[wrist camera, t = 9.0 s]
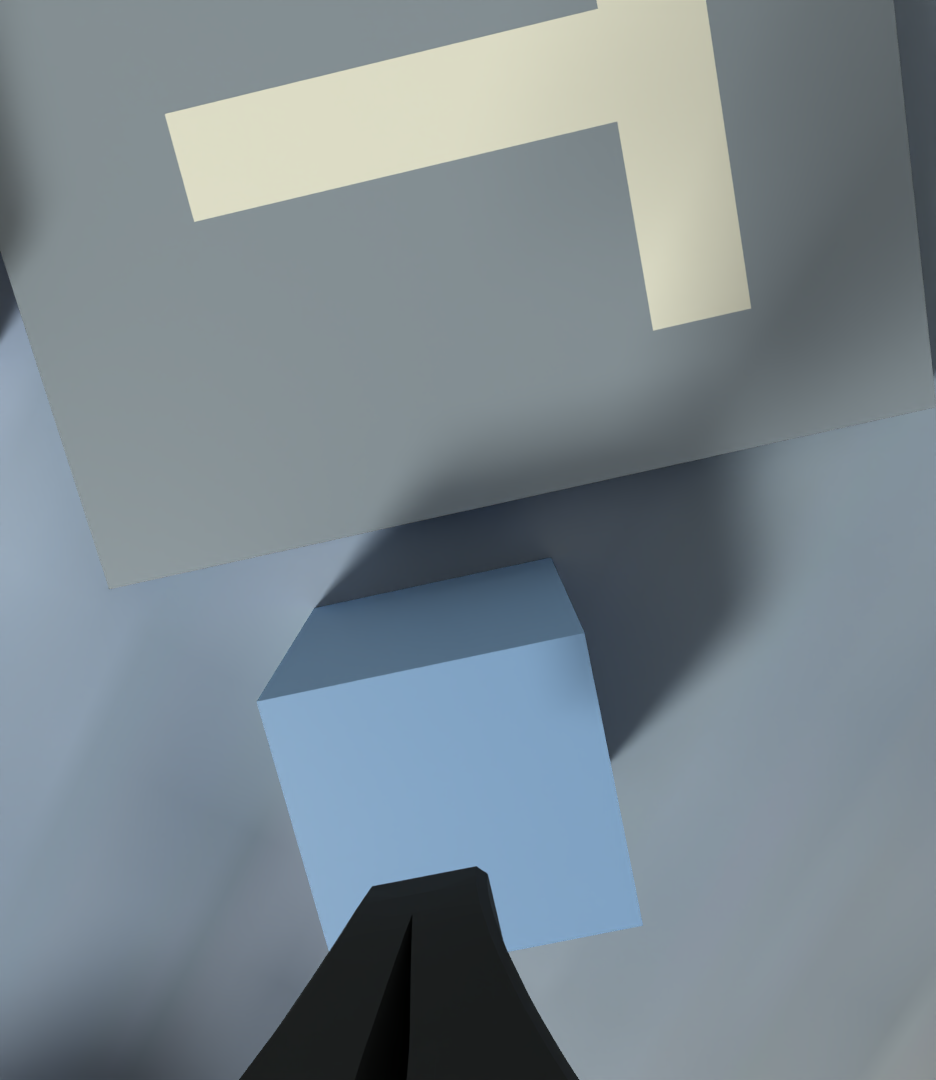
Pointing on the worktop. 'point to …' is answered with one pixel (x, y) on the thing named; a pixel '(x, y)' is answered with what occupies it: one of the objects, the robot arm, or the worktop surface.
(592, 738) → the blue cube
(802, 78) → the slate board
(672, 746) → the worktop surface
